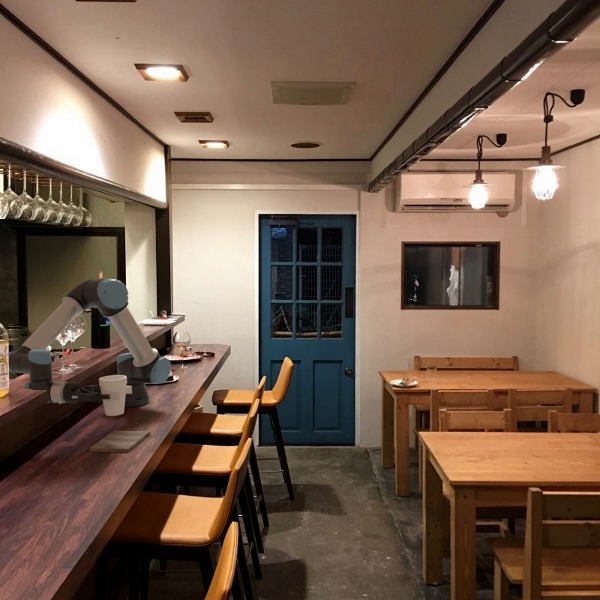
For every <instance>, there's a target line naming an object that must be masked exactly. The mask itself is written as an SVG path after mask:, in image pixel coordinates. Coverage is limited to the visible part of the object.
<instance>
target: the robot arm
mask: <svg viewBox="0 0 600 600" xmlns="http://www.w3.org/2000/svg"><path fill="white" fill-rule="evenodd" d="M128 306H129V290H128V288H127V287H126V285H125V284H124V283H123V282H122V281H121V280H118V279H114V278H102V279H101V278H97V279H96V278H90V279H85V280H83V281H81V282H80V283H78V284H77V285H75V286H74V287H73V288H72V289H71V290H70V291H69V292H68V293H67V294H66V295H65V296H63V297H62V303H61V304H59V305H58V307H56V309H55V310H54V311H52V312H51V314H50V315H49V316H48V317H47V318H46V319H45V321H44V322H42V324H40V326H39V327H38V328H36V330H35V331H34V332H33V333H31V335H29V337H28V338H27V339H26V340H25V341H24V342H23V344H22V345H20V347H18V349H16V350H14V351H9V352H8V353H9V372H12V373H15V374H16V373H20V374H26V375H29V381H27V382H26V383H25V385H24V386H23V390H24V389H32V390H47V391H48V396H49V400H48V402H46V403H48V404H49V403H50V404H51V403H52V404H55V403H58V405H62V403H63V404H64V403H65V404H77V403H79V401H83V402H92V403H93V402H94V403H98V404H100V403H102V401H103V400H120V392H102V393H101V388H100V385H99V384H98V385H97V384H95V385H93V384H90V385H85V386H83V387H82V386H81V384H80V383H79V382H77V381H53V370H52V369H53V367H52V356H51V355H52V354H51V350H50V349H49V348H48V347H49V346H50V345H51V344H52V343H53V342H54V341H55V340H56V339H57V338H58V336H59V335H60V334H61V333H62V332H63V331H64V330H65V329H66V328H67V327H68V326H69V325H70V323H71V322H72V321H73V320H74V319H75V318H76V317H78V316H79V315H82V314H84V312H85V311H86V310H89V309H91V308H95V309H98V311H99V312H100V314H101V316H102V317H104V318H108V319H109V321H110V323H111V324H112V326H113V327H114V329H115V331H116V332H117V334H118V336H119V337H120V339H121V340H122V341H123V344H124V345H125V346H126V348H127V350H128V351H129V352H126V353H121V354H119V355H118V356H117V359H116V360H117V361H116V367H117V369H116V370H117V375H123V376H126V377H127V384H126V395H125V406H124V408H127V407H128V408H129V407H130V408H131V407H137V406H143V405H146V404H149V403H150V401H151V400H150V399H151V398H150V394H149V392H148V389H147V386H146V383H148V384H154V385H156V384H157V385H158V384H163V383H165V382H166V381H167V380H168V378H169V376H170V374H171V370H172V369H171V368H172V365H171V361H170V359H169V358H166V356H165V357H164V356H161V355H160V353H159V351H158V349H156V348H155V347H152V346H151V344H150V343H149V341H148V340H147V338H146V337H145V335H144V333H143V331H142V330H141V328H140V326H139V325H138V323H137V322H136V320H135V318H134V316H133V315H132V313H131V311H130V310H129V308H128ZM46 403H45V404H46Z"/></svg>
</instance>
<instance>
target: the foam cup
mask: <svg viewBox="0 0 600 600" xmlns="http://www.w3.org/2000/svg"><path fill="white" fill-rule="evenodd" d="M126 384H127V377H126V376H123V375H118V374H113V375H112V374H111V375H106V376H101V377H99V379H98V385H100V388H101V393H102V392H120V400H102V403H103V408H104V413H105V414H104V415H105V416H108V417H115V416H120V415H124V413H125V407H124V406H125V395H126Z"/></svg>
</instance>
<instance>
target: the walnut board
mask: <svg viewBox="0 0 600 600" xmlns="http://www.w3.org/2000/svg"><path fill="white" fill-rule="evenodd" d="M149 434H150V435H151V431H149V430H146V431H145V430H114V431H112V432H111V433H109V434H108V435H107V436H105V437H103V438H102V439H101V440H99V441H98V442H96V443H95V444H94V445H91V447H89V452H92V453H93V452H94V453H95V452H102V453H106V452H107V453H108V452H109V453H130V452H131V451H132V450H133V449H135V448H136V447H137V446H138V445H140V443H142V442H143V441H144V440H145V439H146V438H148V437H149V436H150V435H149ZM148 435H149V436H148ZM147 436H148V437H147Z"/></svg>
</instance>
